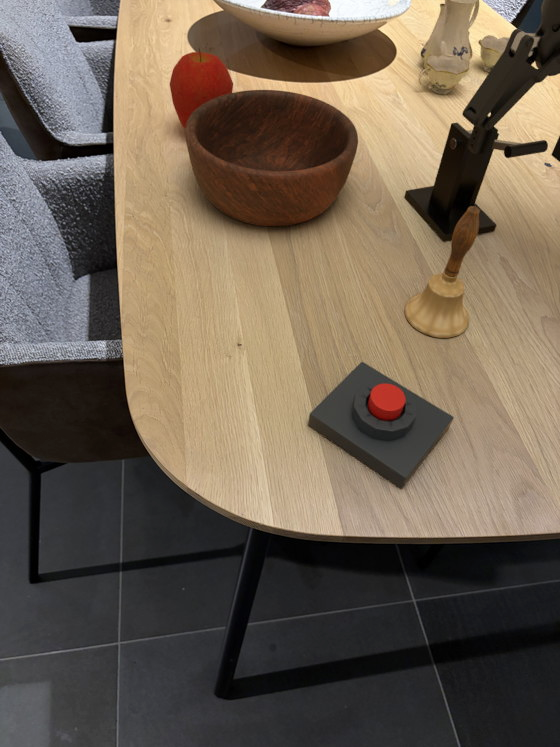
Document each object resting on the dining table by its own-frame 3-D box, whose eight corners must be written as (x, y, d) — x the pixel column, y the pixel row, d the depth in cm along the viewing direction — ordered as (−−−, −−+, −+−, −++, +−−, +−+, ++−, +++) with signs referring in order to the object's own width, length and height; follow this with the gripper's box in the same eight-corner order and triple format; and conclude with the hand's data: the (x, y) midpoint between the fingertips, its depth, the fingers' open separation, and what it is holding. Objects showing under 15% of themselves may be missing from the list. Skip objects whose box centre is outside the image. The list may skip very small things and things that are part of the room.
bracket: (494, 231, 91) (528, 145, 80) (443, 241, 88) (471, 155, 78) (452, 188, 98) (478, 104, 88) (404, 197, 96) (425, 112, 85)
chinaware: (446, 115, 118) (480, 25, 105) (380, 76, 123) (405, -13, 110) (516, 75, 132) (554, -8, 119) (454, 42, 138) (484, -40, 124)
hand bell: (400, 292, 81) (430, 187, 68) (461, 295, 81) (501, 191, 69) (409, 337, 75) (442, 231, 63) (474, 340, 75) (520, 235, 63)
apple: (180, 149, 101) (174, 63, 90) (167, 121, 107) (160, 37, 96) (240, 142, 104) (240, 57, 93) (223, 115, 110) (222, 32, 99)
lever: (546, 156, 76) (549, 136, 74) (510, 162, 74) (512, 142, 73) (480, 146, 87) (482, 128, 85) (448, 151, 85) (449, 133, 84)
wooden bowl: (252, 134, 106) (253, 73, 98) (376, 185, 97) (389, 123, 90) (154, 196, 92) (147, 131, 84) (290, 262, 83) (296, 197, 76)
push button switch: (448, 428, 66) (459, 406, 63) (401, 489, 61) (410, 468, 58) (358, 373, 71) (364, 350, 68) (307, 425, 65) (311, 403, 62)
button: (408, 406, 63) (412, 395, 62) (390, 426, 61) (393, 416, 60) (379, 388, 65) (382, 377, 63) (361, 408, 63) (363, 397, 61)
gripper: (658, -41, 67) (575, 140, 83) (467, -29, 60) (417, 165, 76) (711, -19, 62) (613, 168, 78) (511, -3, 55) (449, 198, 71)
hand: (516, 167), depth 77 cm, fingers open, 13 cm apart
